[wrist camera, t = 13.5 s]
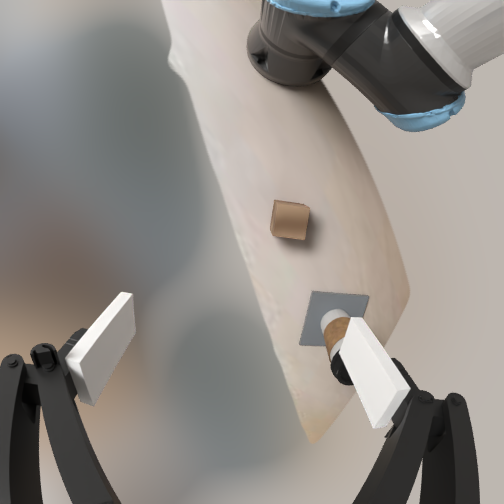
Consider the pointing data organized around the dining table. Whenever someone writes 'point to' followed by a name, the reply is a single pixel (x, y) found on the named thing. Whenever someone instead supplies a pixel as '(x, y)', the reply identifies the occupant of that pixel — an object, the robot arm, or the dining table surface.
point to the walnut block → (289, 220)
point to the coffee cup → (336, 342)
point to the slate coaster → (324, 304)
